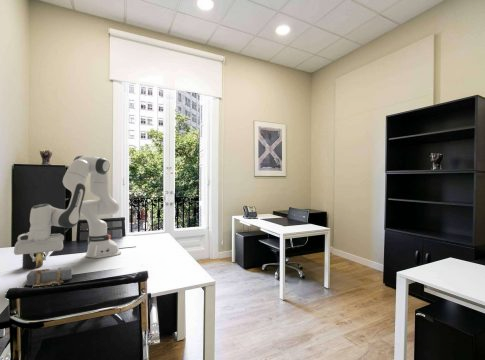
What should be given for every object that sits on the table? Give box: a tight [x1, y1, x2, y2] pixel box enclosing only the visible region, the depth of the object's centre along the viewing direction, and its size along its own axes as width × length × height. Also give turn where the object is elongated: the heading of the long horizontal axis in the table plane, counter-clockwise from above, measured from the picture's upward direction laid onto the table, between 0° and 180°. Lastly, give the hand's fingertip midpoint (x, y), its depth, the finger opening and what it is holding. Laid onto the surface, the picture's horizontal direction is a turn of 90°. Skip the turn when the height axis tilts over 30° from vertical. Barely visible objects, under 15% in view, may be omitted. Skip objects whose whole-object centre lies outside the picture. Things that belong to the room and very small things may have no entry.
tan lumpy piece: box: [29, 268, 50, 272], centre depth 132 cm, size 8×7×4 cm
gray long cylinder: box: [26, 267, 73, 286], centre depth 128 cm, size 18×5×5 cm, turn 121°
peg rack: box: [32, 267, 64, 287], centre depth 128 cm, size 12×8×6 cm, turn 121°
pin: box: [36, 252, 44, 268], centre depth 132 cm, size 3×3×8 cm
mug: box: [22, 252, 46, 270], centre depth 151 cm, size 9×12×9 cm
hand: (39, 260), depth 132 cm, fingers closed on pin, 3 cm apart
